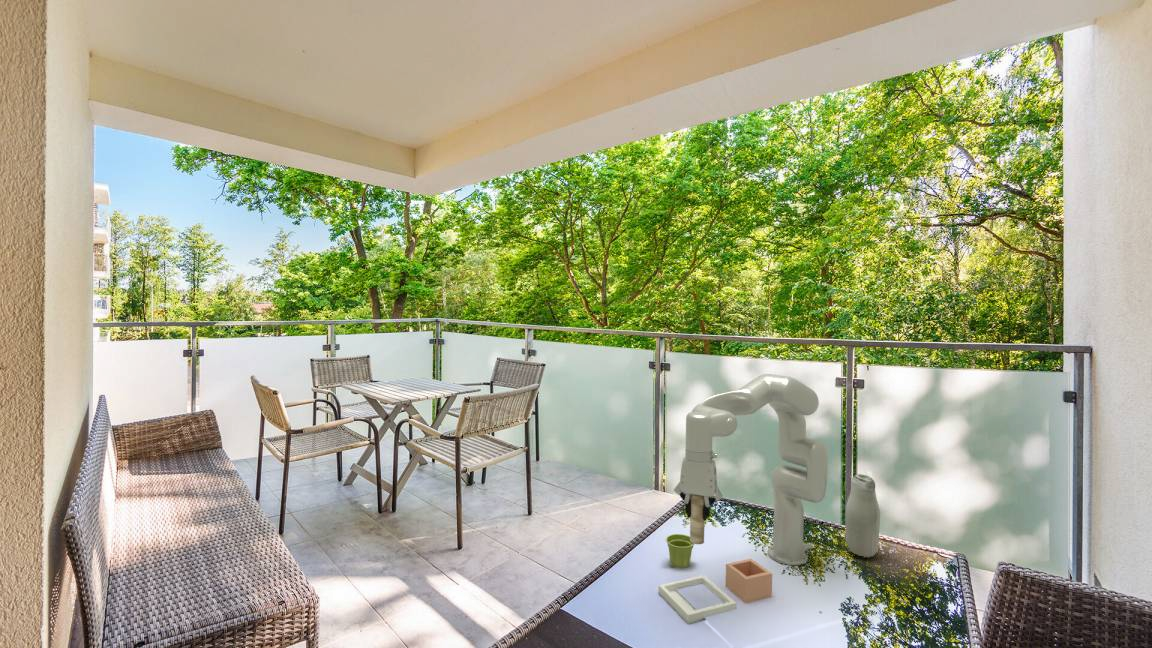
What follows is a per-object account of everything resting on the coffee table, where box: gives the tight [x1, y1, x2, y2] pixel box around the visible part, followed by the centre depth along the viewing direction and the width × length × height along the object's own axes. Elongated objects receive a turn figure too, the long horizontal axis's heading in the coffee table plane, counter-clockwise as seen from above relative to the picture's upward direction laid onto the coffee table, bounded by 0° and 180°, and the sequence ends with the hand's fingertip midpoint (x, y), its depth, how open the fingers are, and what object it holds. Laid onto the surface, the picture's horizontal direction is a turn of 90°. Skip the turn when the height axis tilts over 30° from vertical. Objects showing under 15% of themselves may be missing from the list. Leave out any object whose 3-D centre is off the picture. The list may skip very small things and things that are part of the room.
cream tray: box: [658, 574, 737, 625], centre depth 156 cm, size 16×16×3 cm
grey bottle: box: [845, 473, 881, 558], centre depth 184 cm, size 10×10×28 cm
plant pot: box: [665, 533, 695, 569], centre depth 177 cm, size 9×9×9 cm
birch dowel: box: [689, 494, 706, 545], centre depth 154 cm, size 4×4×14 cm
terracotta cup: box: [725, 558, 773, 604], centre depth 160 cm, size 9×9×8 cm
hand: (697, 516), depth 154 cm, fingers closed on birch dowel, 4 cm apart
